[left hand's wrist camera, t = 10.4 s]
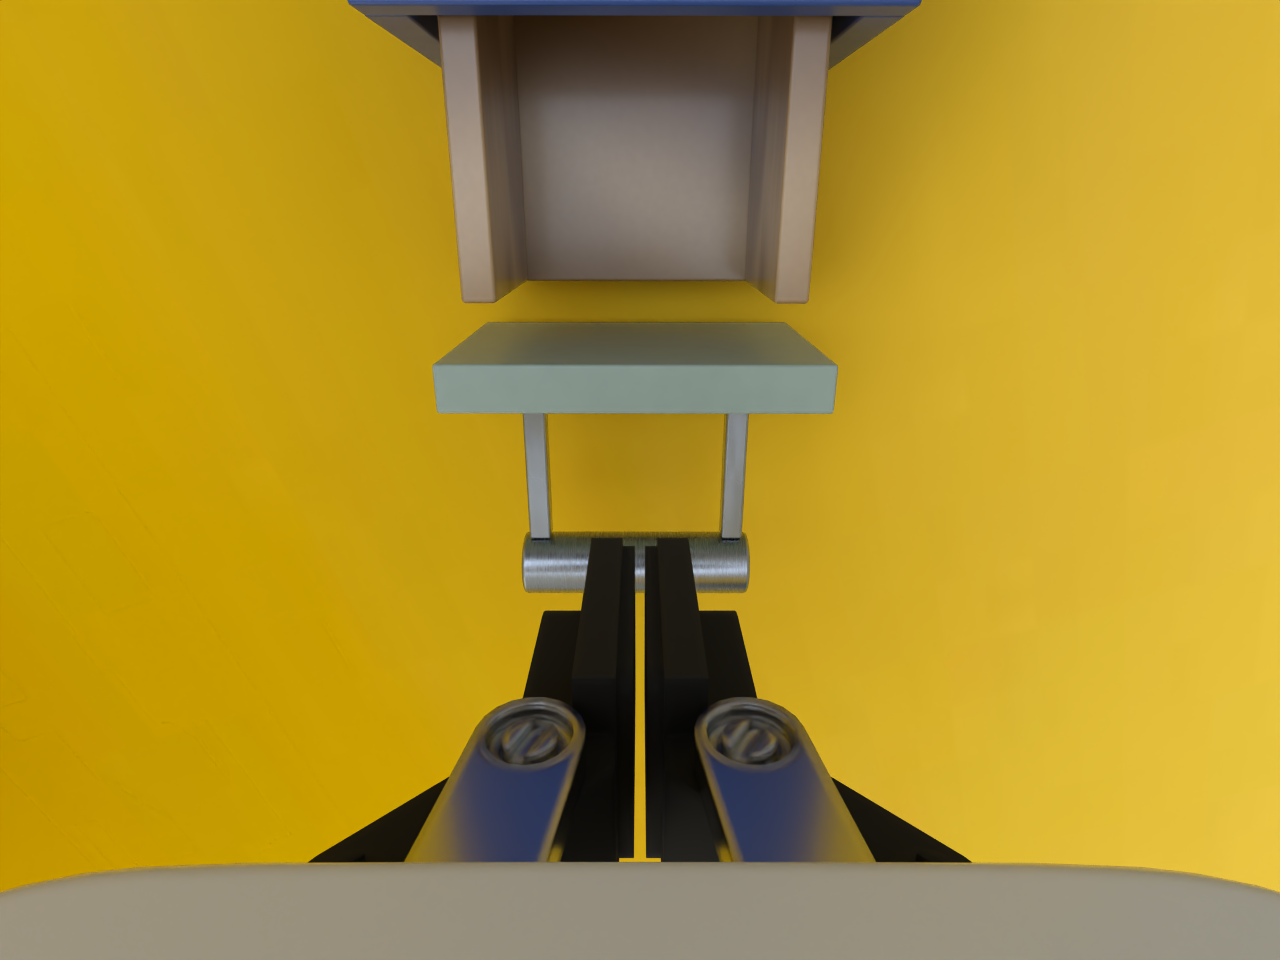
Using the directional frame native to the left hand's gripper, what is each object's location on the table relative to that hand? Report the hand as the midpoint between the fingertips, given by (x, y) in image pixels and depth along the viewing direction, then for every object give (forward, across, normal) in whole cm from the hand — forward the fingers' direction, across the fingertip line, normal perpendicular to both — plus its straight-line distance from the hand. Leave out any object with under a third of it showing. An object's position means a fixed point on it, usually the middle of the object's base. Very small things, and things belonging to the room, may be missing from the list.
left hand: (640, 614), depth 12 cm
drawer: (+12, 0, -5) cm, 13 cm away
